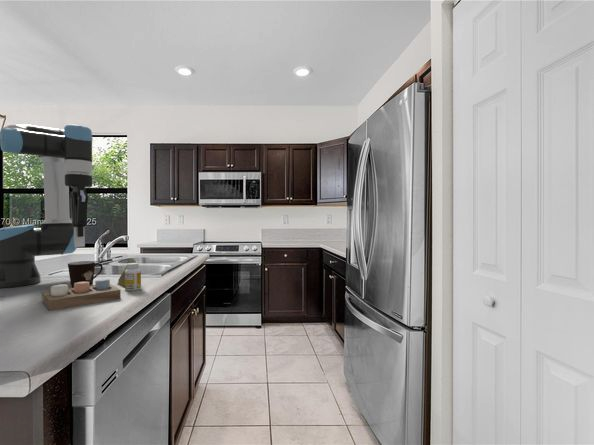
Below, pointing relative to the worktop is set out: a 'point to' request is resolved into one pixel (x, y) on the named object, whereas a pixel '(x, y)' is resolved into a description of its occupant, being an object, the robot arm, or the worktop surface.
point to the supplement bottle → (132, 277)
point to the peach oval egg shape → (81, 287)
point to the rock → (122, 277)
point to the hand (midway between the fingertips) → (79, 246)
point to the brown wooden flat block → (80, 297)
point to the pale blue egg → (102, 284)
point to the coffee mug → (82, 272)
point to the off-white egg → (59, 290)
